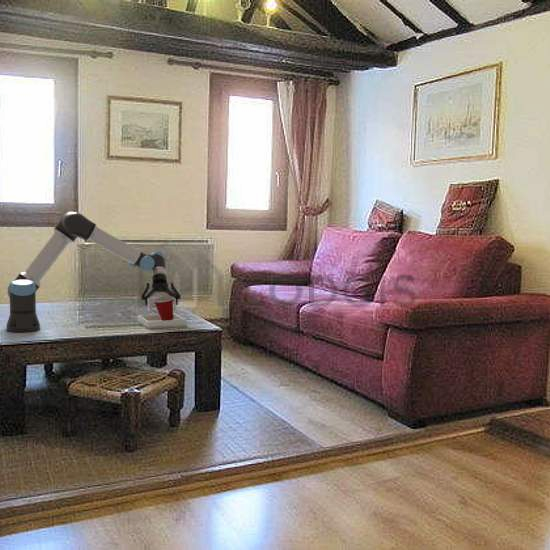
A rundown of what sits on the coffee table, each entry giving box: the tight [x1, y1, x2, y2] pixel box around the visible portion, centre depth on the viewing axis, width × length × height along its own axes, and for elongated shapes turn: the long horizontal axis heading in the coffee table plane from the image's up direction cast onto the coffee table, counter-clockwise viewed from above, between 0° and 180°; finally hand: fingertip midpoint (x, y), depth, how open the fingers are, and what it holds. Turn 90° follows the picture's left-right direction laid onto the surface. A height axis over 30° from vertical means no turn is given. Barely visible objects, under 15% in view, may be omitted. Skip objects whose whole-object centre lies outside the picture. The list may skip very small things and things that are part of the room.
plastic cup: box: [152, 295, 174, 321], centre depth 334 cm, size 11×11×12 cm
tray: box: [137, 312, 188, 330], centre depth 332 cm, size 20×20×4 cm
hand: (162, 309), depth 330 cm, fingers open, 13 cm apart
